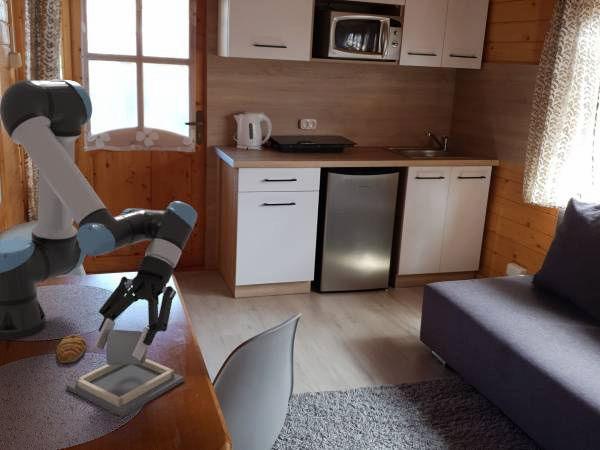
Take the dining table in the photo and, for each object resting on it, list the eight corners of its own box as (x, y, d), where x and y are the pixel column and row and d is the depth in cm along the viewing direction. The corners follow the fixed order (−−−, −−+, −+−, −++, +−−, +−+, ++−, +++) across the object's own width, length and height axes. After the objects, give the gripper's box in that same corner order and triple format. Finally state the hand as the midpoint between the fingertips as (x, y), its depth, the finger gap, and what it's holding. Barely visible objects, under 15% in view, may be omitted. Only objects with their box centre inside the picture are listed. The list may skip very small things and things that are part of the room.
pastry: (82, 364, 143) (81, 350, 142) (52, 366, 142) (51, 351, 141) (87, 346, 152) (87, 332, 151) (59, 348, 151) (58, 334, 150)
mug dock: (66, 388, 132) (65, 378, 132) (129, 357, 147) (129, 348, 146) (122, 416, 123) (121, 406, 122) (183, 380, 138) (183, 371, 137)
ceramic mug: (145, 370, 131) (144, 337, 129) (106, 371, 130) (104, 338, 128) (149, 348, 141) (148, 318, 139) (113, 349, 140) (112, 318, 138)
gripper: (206, 278, 139) (167, 370, 129) (128, 262, 147) (85, 348, 137) (193, 262, 132) (151, 358, 122) (112, 247, 141) (67, 335, 131)
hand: (116, 352), depth 130 cm, fingers closed on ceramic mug, 9 cm apart
